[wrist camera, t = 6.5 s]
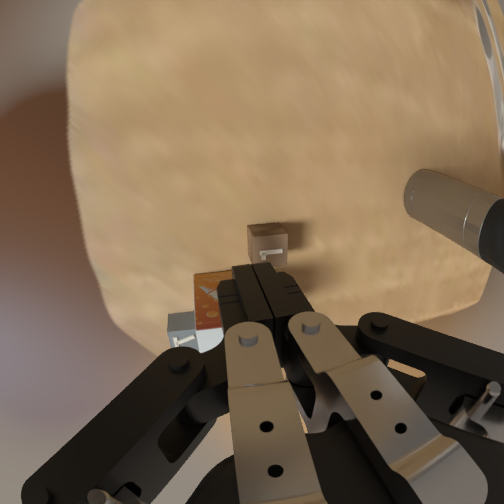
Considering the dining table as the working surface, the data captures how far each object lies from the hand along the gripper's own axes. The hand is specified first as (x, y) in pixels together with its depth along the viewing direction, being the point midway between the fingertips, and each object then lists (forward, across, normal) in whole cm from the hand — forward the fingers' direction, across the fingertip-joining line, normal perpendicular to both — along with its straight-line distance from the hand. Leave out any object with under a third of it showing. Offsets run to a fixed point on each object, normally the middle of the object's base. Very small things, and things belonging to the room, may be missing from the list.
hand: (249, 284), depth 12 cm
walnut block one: (+28, -7, +10) cm, 30 cm away
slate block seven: (+28, +6, +23) cm, 37 cm away
